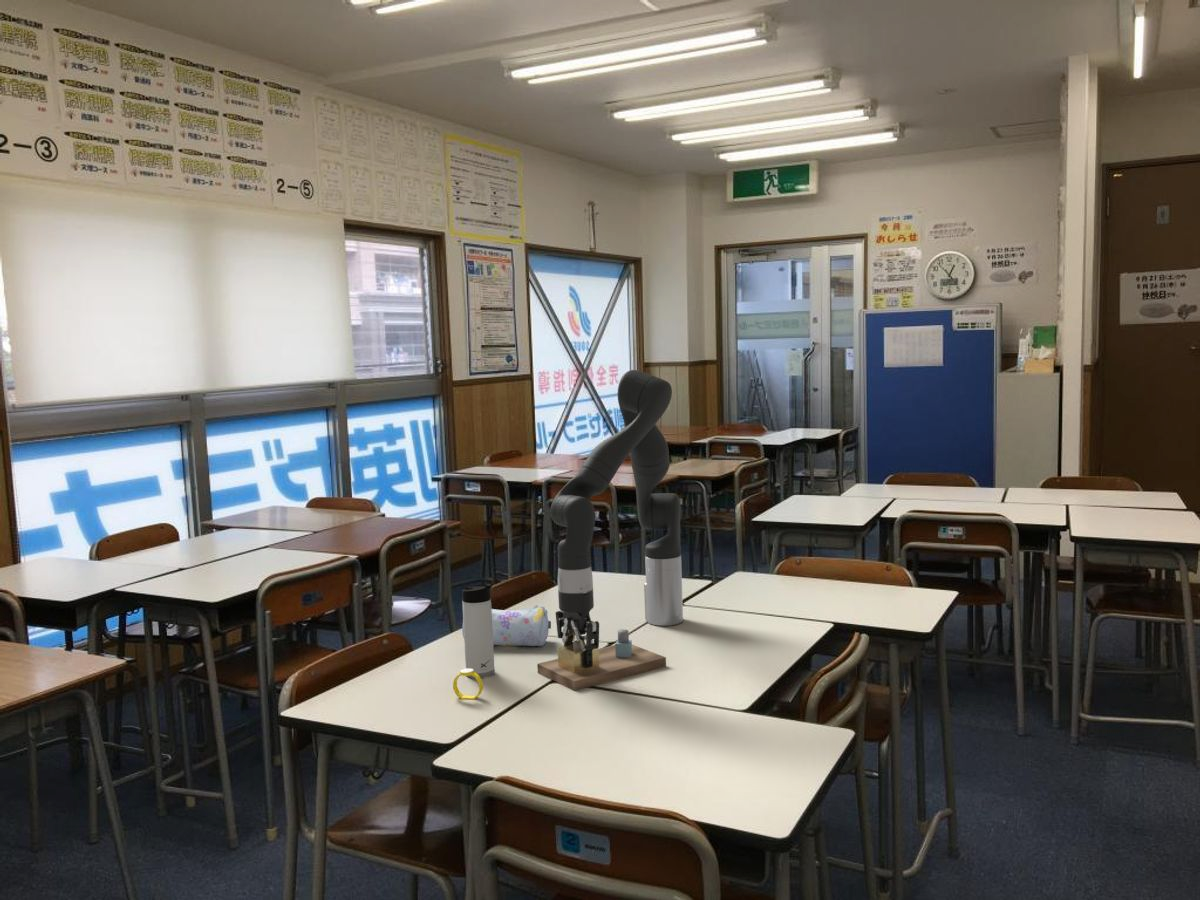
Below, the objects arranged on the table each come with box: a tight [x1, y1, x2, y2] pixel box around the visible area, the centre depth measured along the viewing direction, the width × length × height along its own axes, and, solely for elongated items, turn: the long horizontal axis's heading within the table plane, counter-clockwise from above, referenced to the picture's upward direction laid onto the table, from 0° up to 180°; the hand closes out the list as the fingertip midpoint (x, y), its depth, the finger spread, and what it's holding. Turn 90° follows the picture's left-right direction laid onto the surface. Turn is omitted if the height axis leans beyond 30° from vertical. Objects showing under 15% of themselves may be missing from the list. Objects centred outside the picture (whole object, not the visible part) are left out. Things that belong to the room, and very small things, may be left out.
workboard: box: [537, 639, 667, 691], centre depth 210 cm, size 15×24×8 cm, turn 124°
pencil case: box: [461, 604, 552, 647], centre depth 231 cm, size 21×9×10 cm, turn 82°
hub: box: [614, 628, 633, 657], centre depth 213 cm, size 3×3×6 cm
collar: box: [557, 642, 600, 673], centre depth 206 cm, size 6×6×4 cm
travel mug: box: [461, 583, 496, 679], centre depth 209 cm, size 6×7×20 cm
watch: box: [452, 668, 484, 700], centre depth 195 cm, size 6×3×6 cm, turn 79°
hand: (578, 663), depth 207 cm, fingers closed on collar, 6 cm apart
